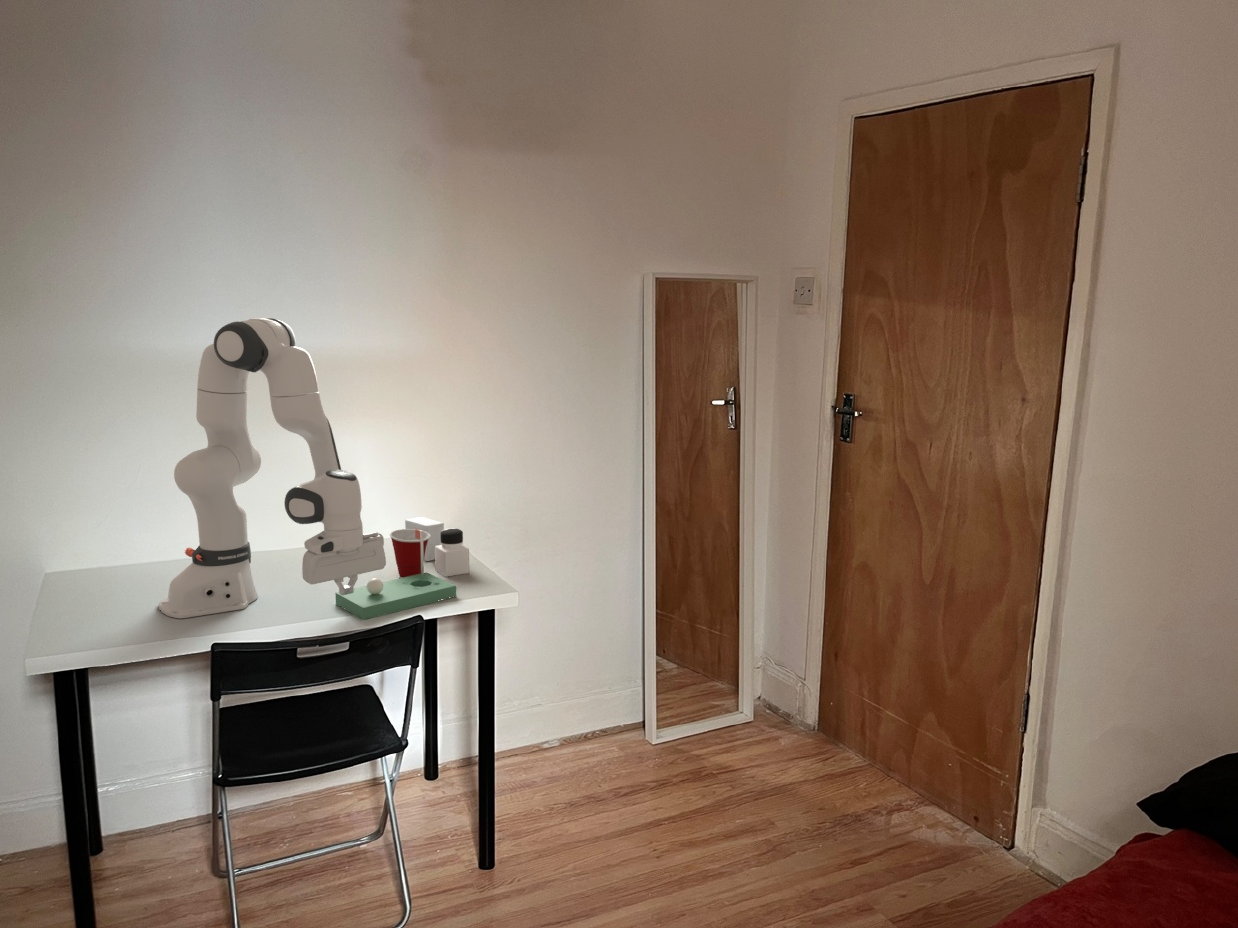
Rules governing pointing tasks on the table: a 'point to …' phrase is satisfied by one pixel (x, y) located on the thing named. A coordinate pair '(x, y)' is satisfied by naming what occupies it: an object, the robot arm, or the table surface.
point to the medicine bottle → (451, 553)
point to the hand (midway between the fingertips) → (346, 593)
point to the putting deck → (398, 593)
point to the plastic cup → (408, 551)
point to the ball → (374, 586)
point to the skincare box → (429, 527)
